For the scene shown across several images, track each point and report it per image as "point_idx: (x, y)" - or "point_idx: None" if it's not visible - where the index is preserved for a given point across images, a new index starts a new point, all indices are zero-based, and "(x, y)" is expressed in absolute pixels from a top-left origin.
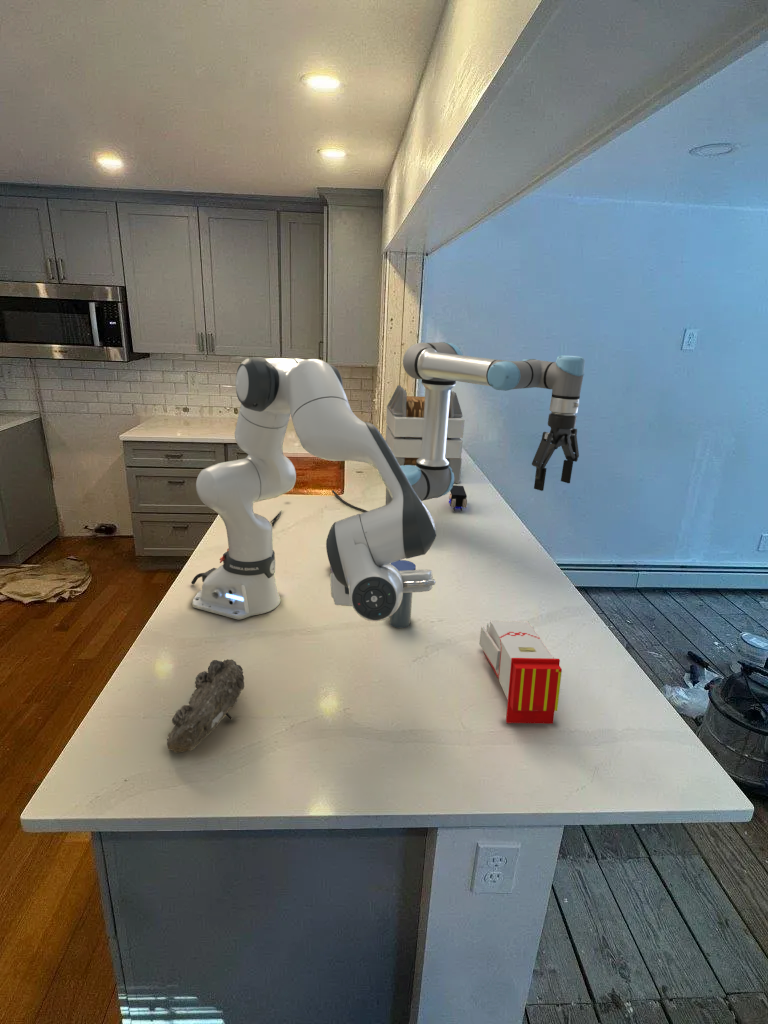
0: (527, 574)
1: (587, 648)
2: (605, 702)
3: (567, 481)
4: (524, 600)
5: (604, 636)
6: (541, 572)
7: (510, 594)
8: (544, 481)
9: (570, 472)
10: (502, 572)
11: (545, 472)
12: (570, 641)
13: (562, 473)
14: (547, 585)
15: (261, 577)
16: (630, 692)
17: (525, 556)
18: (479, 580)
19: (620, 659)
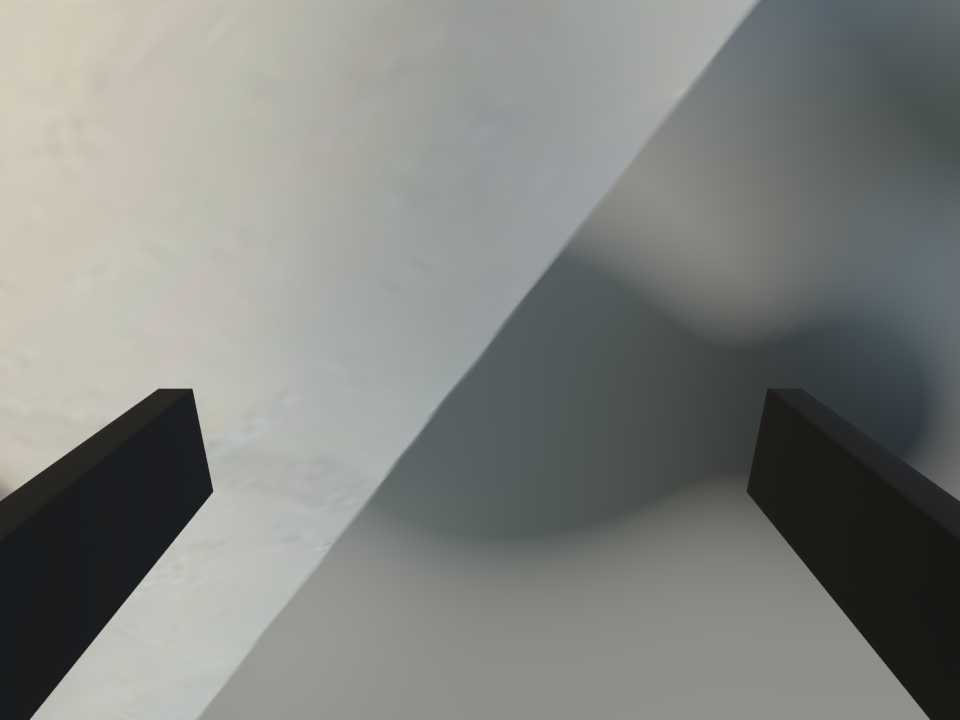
0: (421, 231)
1: (198, 597)
2: (72, 698)
3: (758, 487)
4: (238, 357)
5: (288, 594)
6: (488, 256)
7: (224, 299)
8: (144, 571)
9: (838, 597)
10: (341, 149)
11: (27, 701)
12: (183, 560)
13: (833, 452)
14: (408, 338)
15: None
16: (148, 709)
17: (580, 98)
18: (190, 140)
19: (234, 655)
